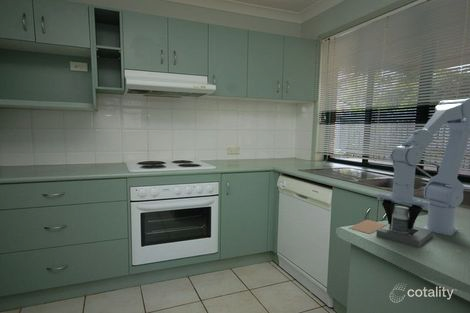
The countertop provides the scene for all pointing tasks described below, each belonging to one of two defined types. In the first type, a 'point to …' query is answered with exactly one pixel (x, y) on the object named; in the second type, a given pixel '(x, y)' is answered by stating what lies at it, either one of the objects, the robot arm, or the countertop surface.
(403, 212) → the pill bottle
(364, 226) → the rubber pad
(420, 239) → the socket dock
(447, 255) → the countertop surface
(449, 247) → the countertop surface
